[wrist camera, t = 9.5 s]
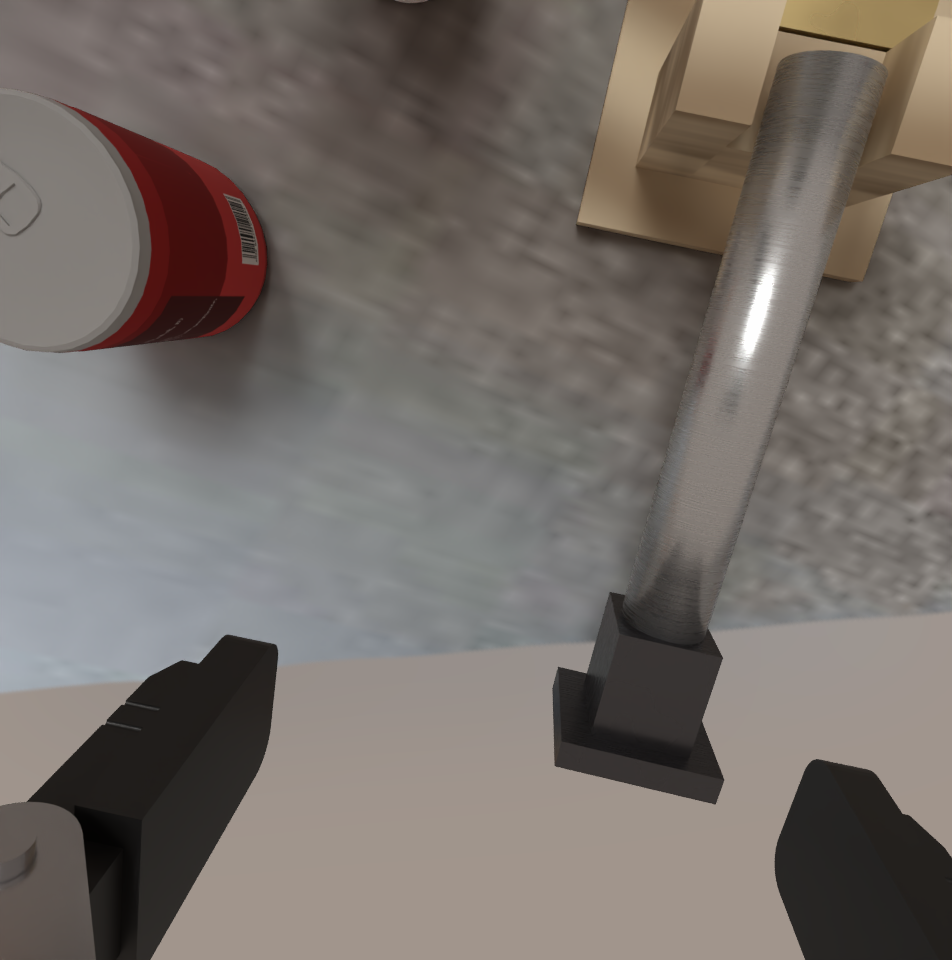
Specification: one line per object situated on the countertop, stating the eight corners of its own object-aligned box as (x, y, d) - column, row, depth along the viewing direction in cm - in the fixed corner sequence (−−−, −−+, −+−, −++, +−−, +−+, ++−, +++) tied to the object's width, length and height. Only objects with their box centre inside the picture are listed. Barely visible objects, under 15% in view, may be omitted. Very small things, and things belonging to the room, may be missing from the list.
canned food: (161, 120, 31) (-38, 25, 20) (306, 236, 31) (187, 203, 21) (80, 263, 33) (-141, 246, 22) (219, 369, 33) (69, 402, 23)
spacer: (719, -40, 26) (769, -136, 21) (876, -9, 26) (972, -97, 20) (689, 75, 27) (728, 15, 22) (840, 106, 27) (921, 54, 21)
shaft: (715, 78, 23) (762, 18, 18) (886, 112, 23) (980, 61, 18) (552, 688, 29) (554, 766, 24) (686, 719, 29) (715, 804, 24)
